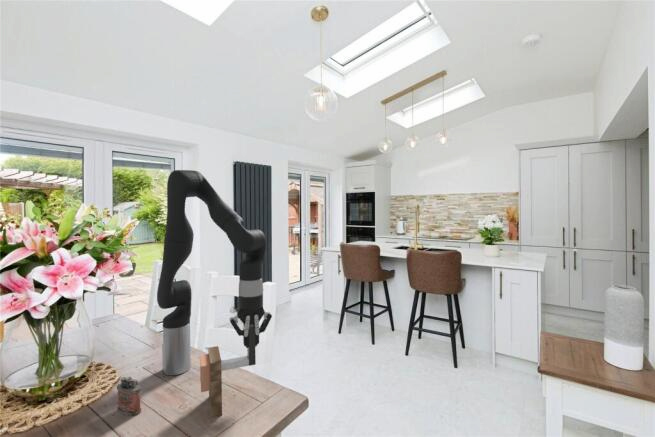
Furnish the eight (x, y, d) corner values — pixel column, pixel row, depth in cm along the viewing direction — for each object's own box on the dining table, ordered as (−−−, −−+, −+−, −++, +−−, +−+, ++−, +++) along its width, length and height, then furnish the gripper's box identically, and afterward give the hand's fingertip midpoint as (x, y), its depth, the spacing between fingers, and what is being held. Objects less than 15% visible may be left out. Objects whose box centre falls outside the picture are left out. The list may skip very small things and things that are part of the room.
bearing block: (211, 417, 90) (210, 363, 89) (209, 396, 100) (208, 347, 100) (222, 415, 91) (221, 361, 91) (218, 394, 101) (218, 346, 101)
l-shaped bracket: (210, 374, 93) (209, 334, 93) (209, 369, 96) (209, 330, 96) (255, 364, 99) (255, 327, 98) (253, 360, 102) (253, 324, 101)
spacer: (201, 392, 90) (200, 366, 90) (200, 379, 97) (200, 355, 97) (210, 390, 91) (210, 364, 91) (208, 377, 98) (208, 353, 98)
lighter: (114, 411, 93) (113, 378, 93) (125, 404, 96) (124, 373, 96) (133, 417, 90) (133, 383, 90) (144, 410, 93) (143, 377, 93)
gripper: (269, 287, 105) (269, 338, 106) (227, 291, 100) (227, 345, 100) (275, 293, 98) (275, 347, 99) (229, 298, 93) (230, 355, 93)
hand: (251, 345), depth 100 cm, fingers closed on l-shaped bracket, 2 cm apart
